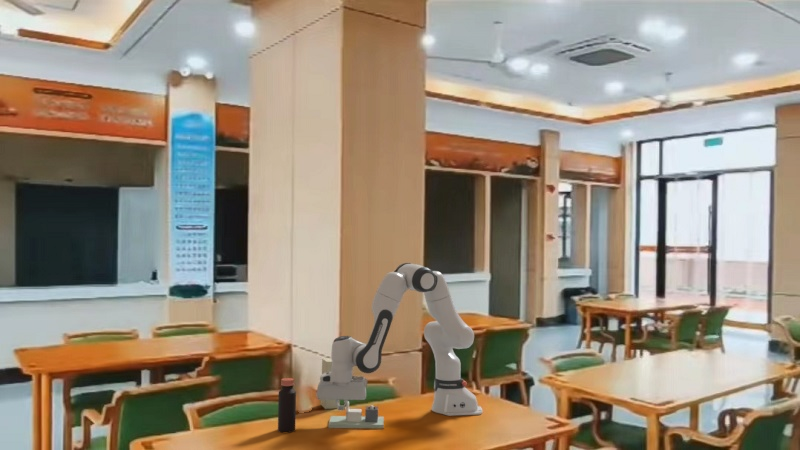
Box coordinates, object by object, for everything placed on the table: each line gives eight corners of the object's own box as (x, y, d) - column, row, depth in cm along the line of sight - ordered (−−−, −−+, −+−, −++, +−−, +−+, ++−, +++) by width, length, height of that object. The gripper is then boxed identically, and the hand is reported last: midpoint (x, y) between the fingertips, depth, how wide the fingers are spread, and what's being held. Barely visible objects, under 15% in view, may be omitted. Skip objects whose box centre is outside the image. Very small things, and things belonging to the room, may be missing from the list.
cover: (361, 418, 273) (361, 401, 273) (360, 421, 268) (361, 404, 268) (346, 418, 273) (347, 401, 273) (346, 421, 268) (346, 404, 268)
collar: (377, 418, 273) (378, 406, 273) (377, 422, 268) (377, 409, 268) (365, 418, 273) (365, 406, 273) (365, 422, 268) (365, 409, 268)
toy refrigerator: (341, 408, 295) (342, 360, 296) (325, 409, 293) (326, 361, 293) (336, 403, 303) (337, 357, 303) (320, 405, 300) (321, 358, 300)
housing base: (383, 420, 277) (384, 402, 277) (383, 428, 265) (383, 409, 265) (331, 419, 277) (331, 401, 277) (328, 427, 265) (328, 409, 265)
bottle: (276, 428, 262) (277, 378, 263) (293, 427, 265) (294, 377, 265) (279, 433, 256) (280, 381, 256) (296, 432, 259) (297, 380, 259)
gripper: (367, 374, 274) (367, 408, 274) (318, 374, 274) (317, 407, 274) (366, 378, 268) (366, 412, 268) (316, 377, 268) (315, 411, 268)
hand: (341, 410), depth 271 cm, fingers closed
